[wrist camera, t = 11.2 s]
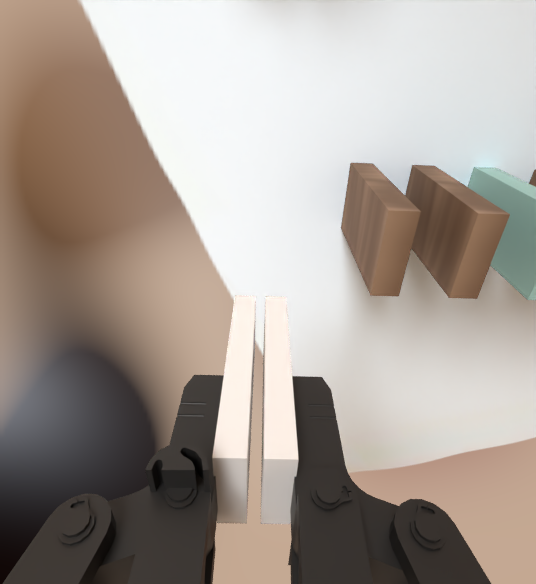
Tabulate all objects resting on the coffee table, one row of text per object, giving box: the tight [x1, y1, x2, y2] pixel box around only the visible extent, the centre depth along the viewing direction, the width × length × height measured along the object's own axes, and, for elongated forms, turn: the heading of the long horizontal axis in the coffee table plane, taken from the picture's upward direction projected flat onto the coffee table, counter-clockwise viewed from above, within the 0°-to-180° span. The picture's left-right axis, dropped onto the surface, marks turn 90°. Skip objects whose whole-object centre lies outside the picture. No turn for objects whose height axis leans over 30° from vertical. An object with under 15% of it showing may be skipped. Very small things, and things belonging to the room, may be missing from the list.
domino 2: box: [405, 165, 510, 299], centre depth 24 cm, size 2×5×10 cm, turn 178°
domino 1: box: [341, 163, 421, 296], centre depth 24 cm, size 2×5×10 cm, turn 178°
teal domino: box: [468, 167, 536, 300], centre depth 24 cm, size 2×5×10 cm, turn 178°
